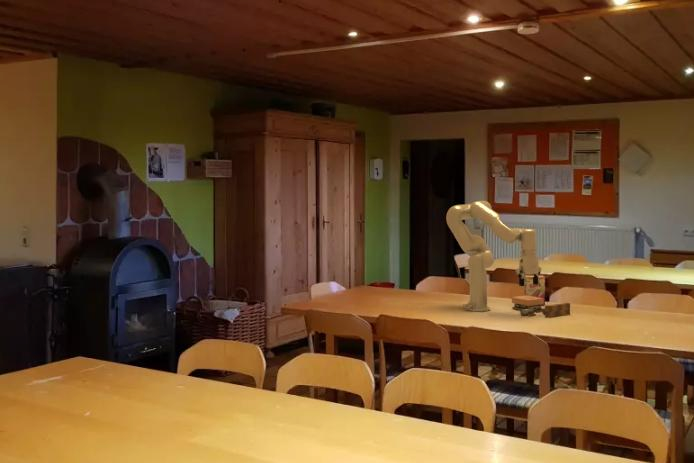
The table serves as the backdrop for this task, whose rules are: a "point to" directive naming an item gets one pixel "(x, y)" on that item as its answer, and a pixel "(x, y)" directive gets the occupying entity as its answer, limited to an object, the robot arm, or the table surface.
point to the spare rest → (532, 315)
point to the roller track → (535, 307)
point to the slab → (527, 300)
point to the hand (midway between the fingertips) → (528, 285)
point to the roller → (527, 311)
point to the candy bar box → (535, 287)
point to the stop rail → (557, 310)
